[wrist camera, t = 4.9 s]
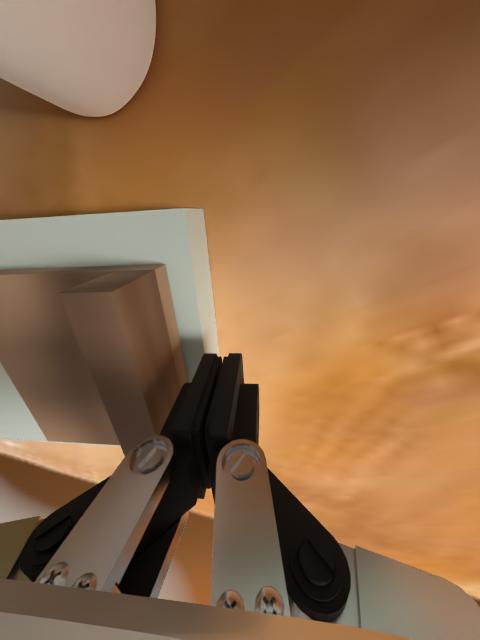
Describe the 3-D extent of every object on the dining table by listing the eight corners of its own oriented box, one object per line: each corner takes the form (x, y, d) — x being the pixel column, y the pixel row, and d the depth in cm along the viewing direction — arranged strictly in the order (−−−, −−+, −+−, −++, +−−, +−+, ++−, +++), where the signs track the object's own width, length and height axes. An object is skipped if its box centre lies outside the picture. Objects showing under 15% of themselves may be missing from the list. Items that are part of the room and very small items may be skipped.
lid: (165, 264, 9) (111, 291, 6) (198, 434, 14) (176, 503, 10) (-25, 271, 10) (-155, 298, 7) (61, 426, 15) (3, 488, 11)
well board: (203, 208, 11) (183, 208, 9) (226, 414, 17) (218, 452, 15) (-123, 230, 14) (-219, 234, 11) (-5, 405, 20) (-48, 436, 17)
